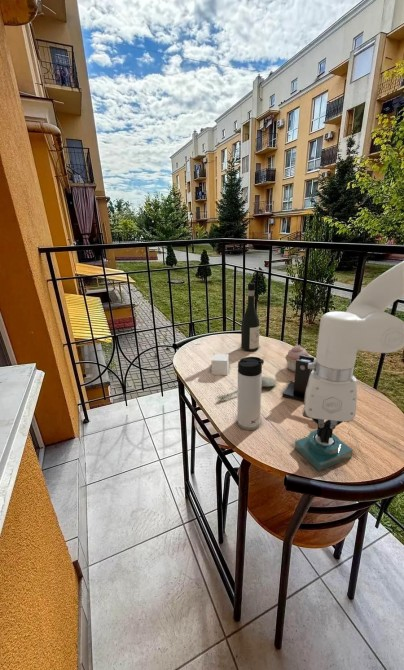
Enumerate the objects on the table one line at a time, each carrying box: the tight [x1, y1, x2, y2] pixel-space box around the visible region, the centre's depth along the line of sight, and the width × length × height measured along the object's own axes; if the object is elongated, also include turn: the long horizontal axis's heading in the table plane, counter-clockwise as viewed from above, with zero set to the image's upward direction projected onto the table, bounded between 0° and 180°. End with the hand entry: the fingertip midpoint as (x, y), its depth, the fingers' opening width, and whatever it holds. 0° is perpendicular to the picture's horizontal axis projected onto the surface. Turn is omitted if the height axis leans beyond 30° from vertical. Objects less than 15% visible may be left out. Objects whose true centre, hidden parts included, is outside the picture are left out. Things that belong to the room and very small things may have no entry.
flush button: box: [315, 435, 334, 446], centre depth 67 cm, size 4×4×2 cm
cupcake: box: [284, 344, 310, 373], centre depth 107 cm, size 9×9×10 cm
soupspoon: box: [218, 376, 276, 402], centre depth 94 cm, size 22×3×7 cm
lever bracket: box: [282, 355, 315, 403], centre depth 90 cm, size 10×9×13 cm
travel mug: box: [237, 356, 265, 431], centre depth 76 cm, size 6×7×20 cm
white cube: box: [210, 353, 230, 376], centre depth 108 cm, size 6×6×6 cm
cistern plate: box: [294, 429, 354, 472], centre depth 67 cm, size 10×8×4 cm
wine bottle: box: [240, 282, 261, 352], centre depth 124 cm, size 8×8×30 cm
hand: (323, 438), depth 66 cm, fingers closed
